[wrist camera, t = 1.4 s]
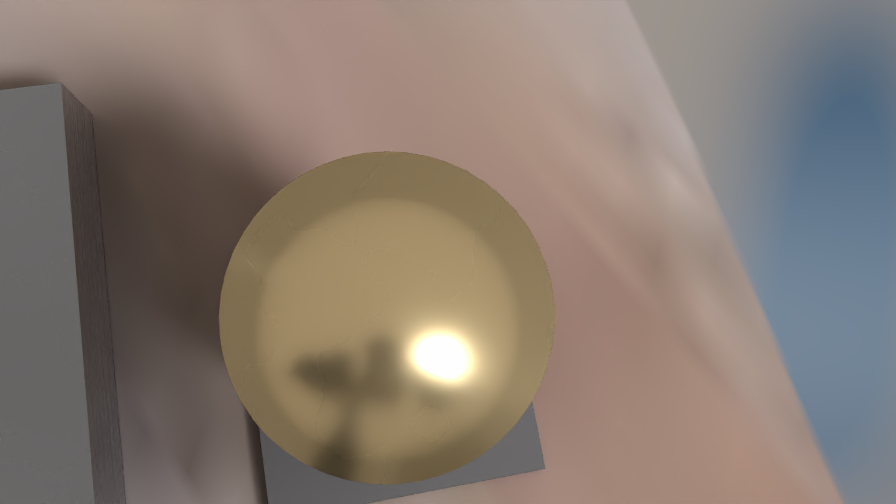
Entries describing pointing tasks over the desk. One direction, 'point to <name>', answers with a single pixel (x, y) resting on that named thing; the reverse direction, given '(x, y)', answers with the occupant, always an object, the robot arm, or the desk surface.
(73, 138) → the plate
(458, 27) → the desk surface
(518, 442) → the grey square plate
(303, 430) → the brass knob
